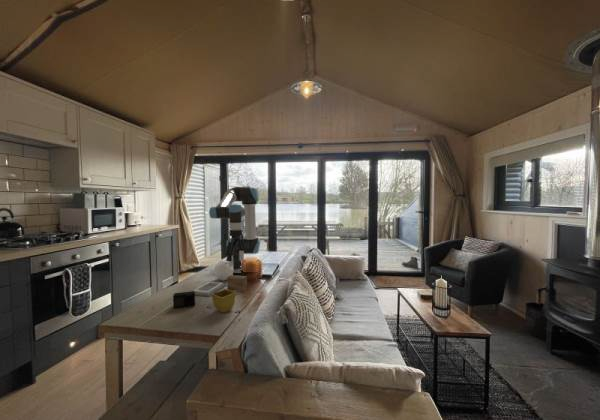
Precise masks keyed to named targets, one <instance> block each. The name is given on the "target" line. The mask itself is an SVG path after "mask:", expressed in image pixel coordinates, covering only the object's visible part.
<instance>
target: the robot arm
mask: <svg viewBox="0 0 600 420" xmlns="http://www.w3.org/2000/svg"><path fill="white" fill-rule="evenodd" d="M259 200H260V198H259V190H258V188H257V186H251V185H250V186H249V185H248V186H234V187H231V188H229V189H228V190H226V191H225V192H224V194H223V197H222V199H220V201H219V203H218V204H217V205H216V206H211V207H210V208H209V211H208V212H209V213H208V214H209V217H210V218H211V219H217V220H218V219H228V220H229V222H228V223H229V224H228V226H229V231H228V232H229V236H230V237H231V238H228V239H227V240H226V244H225V246H226V252H225V255H226V259H225V261H228V262H229V266H232V267H233V268H234V270H237V269H236V268H238V269H241V268H240V266H241V261H243V262H244V261H245V254H246V255H257V254H258V253H259V251H260V246H261V239H260V238H259V236H258V235H257V228H256V227H257V226H256V220H257V219H256V205H257V204H258V203H259ZM235 202H236V203H235ZM237 202H240V203H241V204H240V203H237ZM243 219H244V236H243V221H242V220H243Z"/></svg>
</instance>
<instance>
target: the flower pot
mask: <svg viewBox="0 0 600 420" xmlns="http://www.w3.org/2000/svg"><path fill="white" fill-rule="evenodd" d="M236 292H237V291H234V290H228V288H227V289H226V288H225V289H224V288H223V289H220V290H219V291H217V292H216V293H213V294H212V295H211V299H212V303H213V306H214V307H215V310H217V312H220V313H222V314H223V313H226V312H228V311H231V310H232V309H233V308H234V305H235V301H236V294H237V293H236Z"/></svg>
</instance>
